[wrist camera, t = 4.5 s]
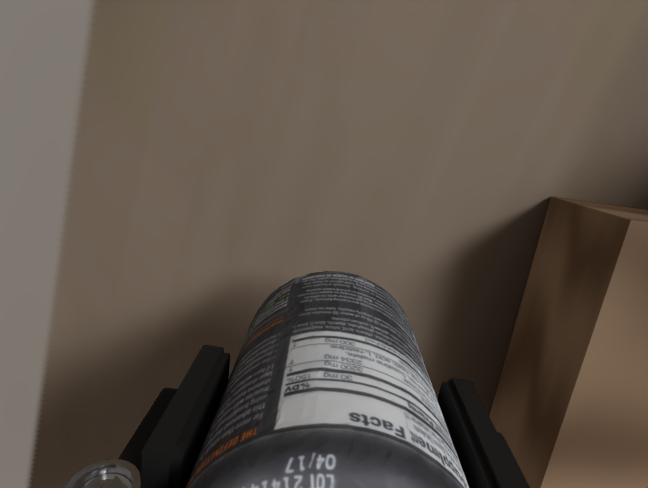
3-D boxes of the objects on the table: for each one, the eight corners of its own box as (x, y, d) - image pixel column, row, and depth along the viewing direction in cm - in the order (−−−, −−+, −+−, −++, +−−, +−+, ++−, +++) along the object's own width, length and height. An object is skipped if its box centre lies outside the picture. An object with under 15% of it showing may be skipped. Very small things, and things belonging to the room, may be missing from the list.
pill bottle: (302, 432, 16) (235, 1035, 6) (219, 314, 15) (-83, 816, 4) (440, 369, 15) (679, 962, 5) (364, 236, 14) (451, 639, 3)
